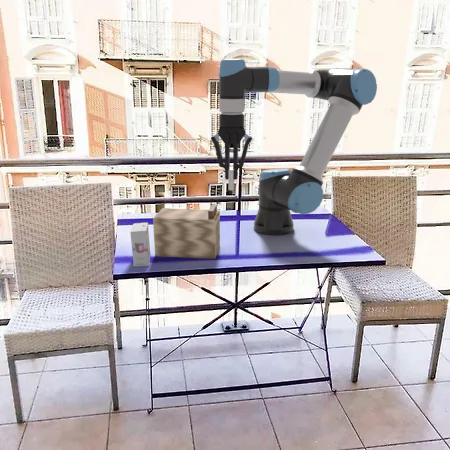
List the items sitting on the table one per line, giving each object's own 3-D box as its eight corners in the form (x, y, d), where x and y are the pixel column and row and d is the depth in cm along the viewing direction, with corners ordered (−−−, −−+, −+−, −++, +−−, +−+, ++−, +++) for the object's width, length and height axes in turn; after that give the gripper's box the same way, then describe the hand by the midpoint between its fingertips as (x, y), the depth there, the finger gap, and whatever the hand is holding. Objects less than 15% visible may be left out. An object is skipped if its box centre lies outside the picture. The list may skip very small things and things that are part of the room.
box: (219, 246, 160) (219, 210, 155) (215, 258, 149) (214, 220, 145) (163, 244, 162) (161, 208, 158) (155, 255, 152) (153, 217, 147)
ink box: (135, 256, 151) (133, 222, 148) (150, 255, 152) (148, 221, 148) (132, 266, 143) (130, 231, 140) (148, 266, 144) (146, 230, 140)
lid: (218, 213, 155) (218, 203, 154) (214, 222, 146) (214, 211, 145) (162, 211, 157) (161, 201, 156) (154, 220, 148) (153, 209, 147)
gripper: (254, 112, 142) (252, 187, 149) (212, 111, 143) (212, 185, 151) (252, 114, 135) (250, 192, 142) (208, 114, 136) (209, 191, 144)
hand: (231, 189), depth 147 cm, fingers closed
